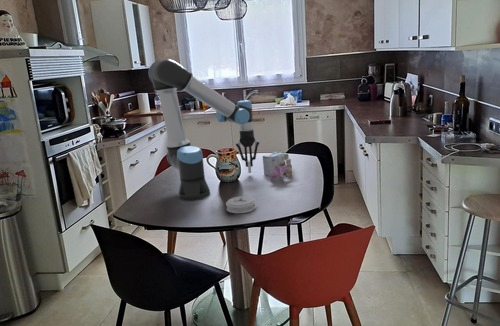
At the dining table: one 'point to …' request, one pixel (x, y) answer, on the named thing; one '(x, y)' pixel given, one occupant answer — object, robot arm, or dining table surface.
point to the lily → (278, 172)
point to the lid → (241, 204)
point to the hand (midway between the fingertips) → (249, 172)
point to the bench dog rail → (288, 164)
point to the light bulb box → (272, 162)
